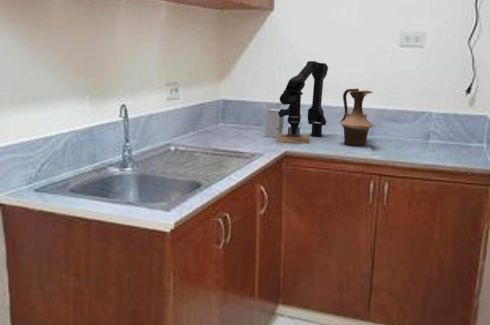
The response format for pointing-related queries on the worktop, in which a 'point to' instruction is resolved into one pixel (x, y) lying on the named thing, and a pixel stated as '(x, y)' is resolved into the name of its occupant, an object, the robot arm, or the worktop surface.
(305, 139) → the post socket
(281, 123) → the skincare box
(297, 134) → the dark grey rectangular prism
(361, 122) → the pitcher
